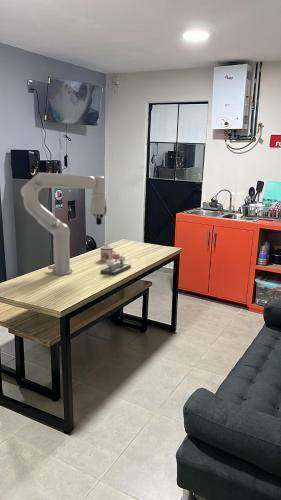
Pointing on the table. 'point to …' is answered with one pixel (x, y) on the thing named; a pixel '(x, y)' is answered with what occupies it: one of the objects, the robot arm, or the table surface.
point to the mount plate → (115, 269)
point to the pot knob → (115, 256)
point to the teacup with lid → (107, 252)
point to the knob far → (121, 259)
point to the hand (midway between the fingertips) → (99, 224)
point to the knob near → (110, 263)
